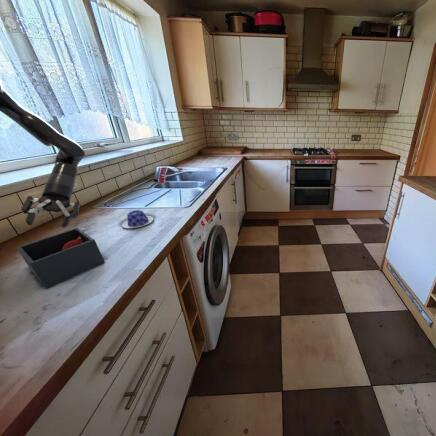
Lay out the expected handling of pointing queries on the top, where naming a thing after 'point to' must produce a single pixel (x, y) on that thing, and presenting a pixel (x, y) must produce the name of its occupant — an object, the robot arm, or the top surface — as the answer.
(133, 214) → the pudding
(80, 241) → the onion
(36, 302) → the top surface
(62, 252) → the trash bin
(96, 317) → the top surface
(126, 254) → the top surface
